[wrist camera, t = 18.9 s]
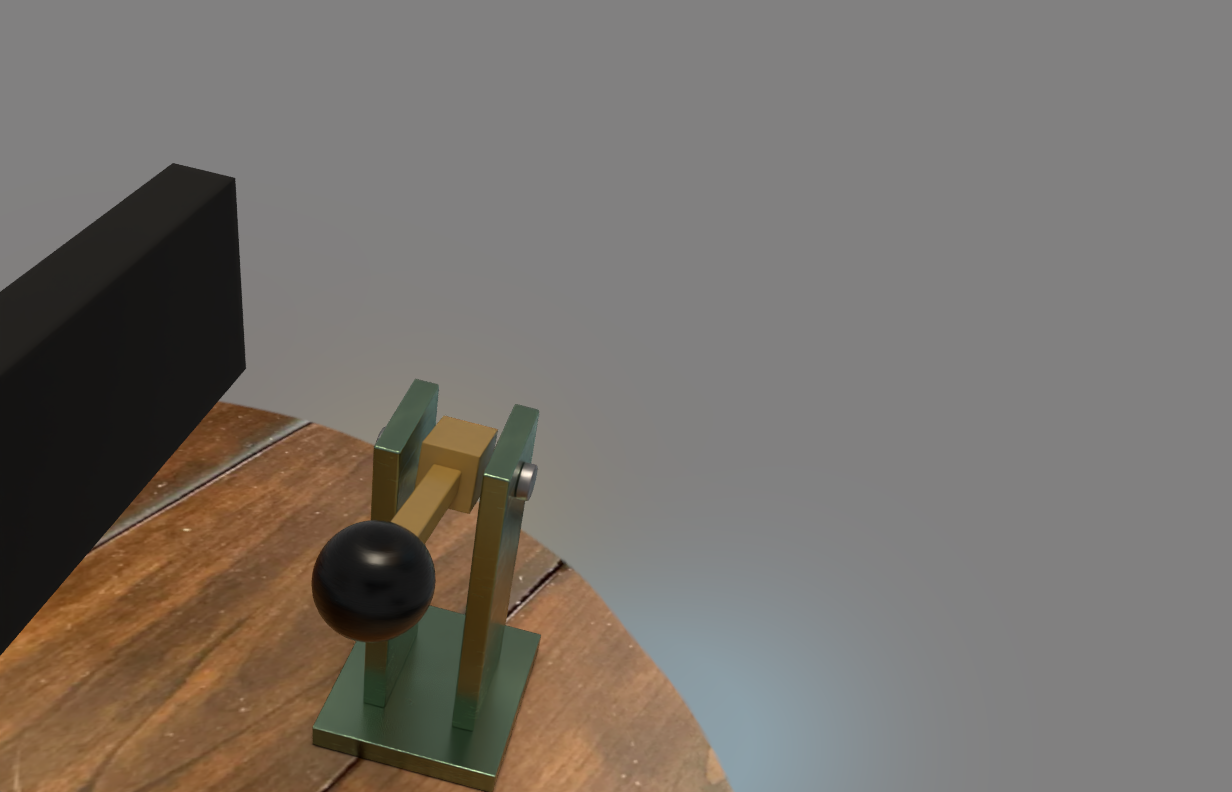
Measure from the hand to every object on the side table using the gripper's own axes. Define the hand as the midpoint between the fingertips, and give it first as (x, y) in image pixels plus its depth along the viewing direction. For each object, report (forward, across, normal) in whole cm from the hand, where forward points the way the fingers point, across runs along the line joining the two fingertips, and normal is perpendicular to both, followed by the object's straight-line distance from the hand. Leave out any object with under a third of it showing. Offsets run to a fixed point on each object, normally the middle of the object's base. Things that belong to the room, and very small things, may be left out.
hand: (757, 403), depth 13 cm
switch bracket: (+19, -8, -34) cm, 40 cm away
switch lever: (+14, -8, -20) cm, 26 cm away
